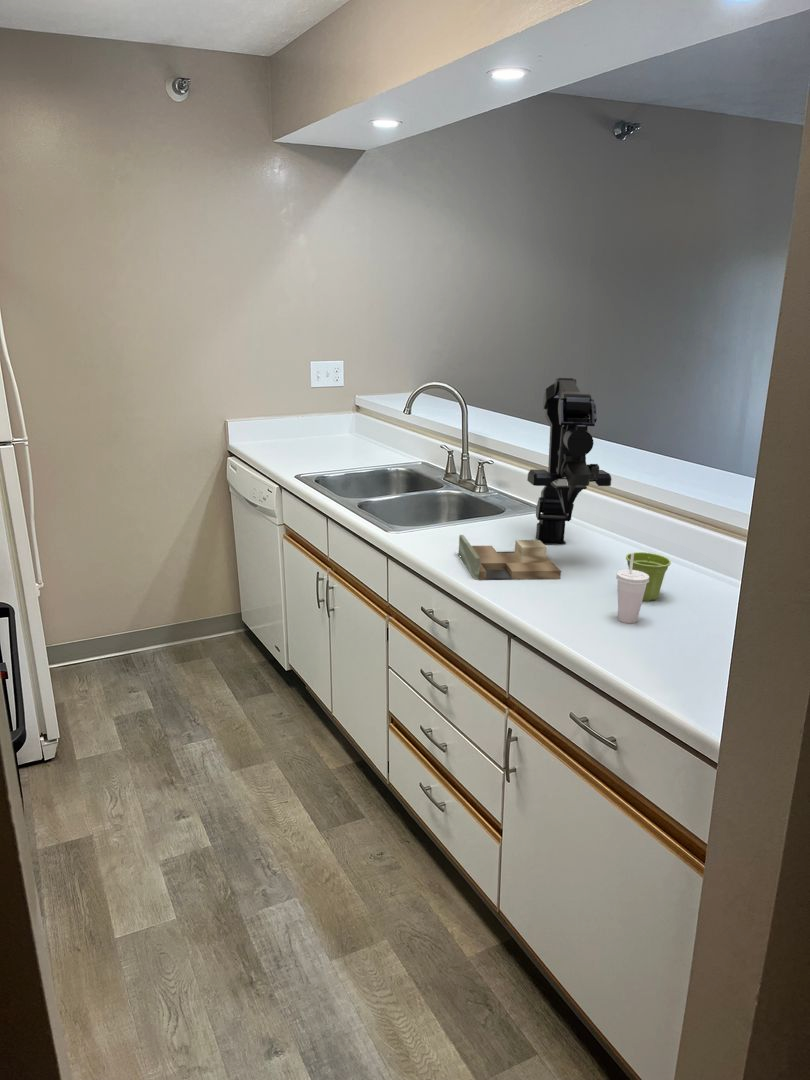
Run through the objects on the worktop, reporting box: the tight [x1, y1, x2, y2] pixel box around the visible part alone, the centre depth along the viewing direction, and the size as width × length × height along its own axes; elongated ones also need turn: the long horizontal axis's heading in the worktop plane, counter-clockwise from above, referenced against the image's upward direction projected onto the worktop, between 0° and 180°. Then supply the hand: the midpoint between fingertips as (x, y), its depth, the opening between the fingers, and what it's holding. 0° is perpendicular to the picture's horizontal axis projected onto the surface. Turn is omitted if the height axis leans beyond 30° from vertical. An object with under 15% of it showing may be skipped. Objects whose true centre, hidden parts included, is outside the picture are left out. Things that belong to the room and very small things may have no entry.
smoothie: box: [615, 552, 649, 624], centre depth 161 cm, size 6×6×14 cm
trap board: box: [458, 534, 562, 581], centre depth 193 cm, size 20×20×5 cm
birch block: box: [514, 539, 548, 562], centre depth 194 cm, size 6×6×4 cm
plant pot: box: [625, 551, 672, 602], centre depth 175 cm, size 9×9×9 cm
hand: (566, 513), depth 192 cm, fingers closed
